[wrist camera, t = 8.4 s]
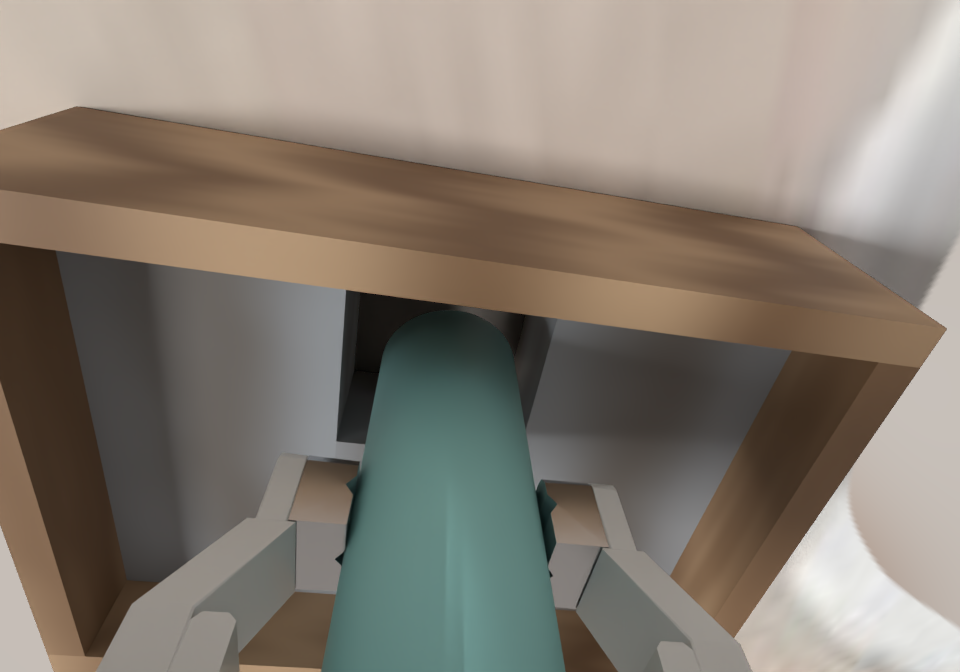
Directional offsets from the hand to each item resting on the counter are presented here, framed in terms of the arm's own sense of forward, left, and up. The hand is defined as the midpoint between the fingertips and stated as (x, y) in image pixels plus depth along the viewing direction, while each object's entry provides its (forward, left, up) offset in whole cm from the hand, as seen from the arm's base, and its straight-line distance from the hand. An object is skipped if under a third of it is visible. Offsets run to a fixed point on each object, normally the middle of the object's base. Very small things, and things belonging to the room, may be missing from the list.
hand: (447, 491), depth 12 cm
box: (0, -3, -8) cm, 8 cm away
